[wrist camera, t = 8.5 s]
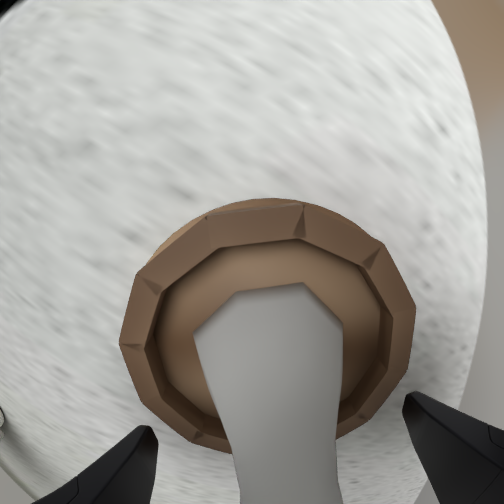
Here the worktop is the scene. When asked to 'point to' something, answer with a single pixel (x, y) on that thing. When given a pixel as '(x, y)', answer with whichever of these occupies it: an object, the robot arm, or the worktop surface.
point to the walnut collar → (254, 277)
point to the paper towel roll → (0, 421)
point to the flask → (277, 391)
